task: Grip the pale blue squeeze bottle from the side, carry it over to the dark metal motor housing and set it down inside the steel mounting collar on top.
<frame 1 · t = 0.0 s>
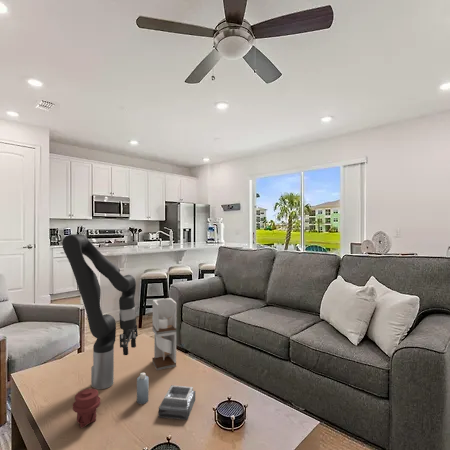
hand: (129, 351, 147), 17 cm above the table, tool pointing down, fingers open, 8 cm apart
mechanical component: (86, 422, 121), on the table
motor housing: (177, 408, 131), on the table
pale blue squeeze bottle: (142, 400, 136), on the table
display case: (164, 364, 171), on the table
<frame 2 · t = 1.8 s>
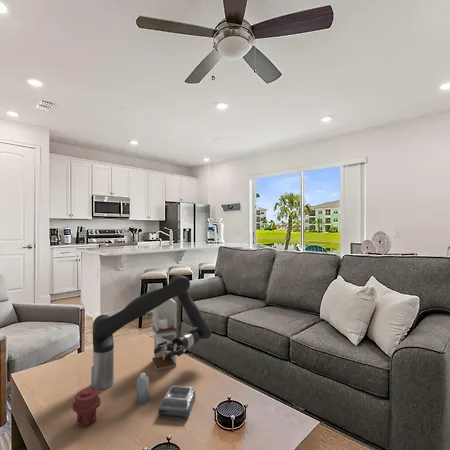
hand: (160, 353, 145), 17 cm above the table, tool horizontal, fingers open, 8 cm apart
nothing on the table moved.
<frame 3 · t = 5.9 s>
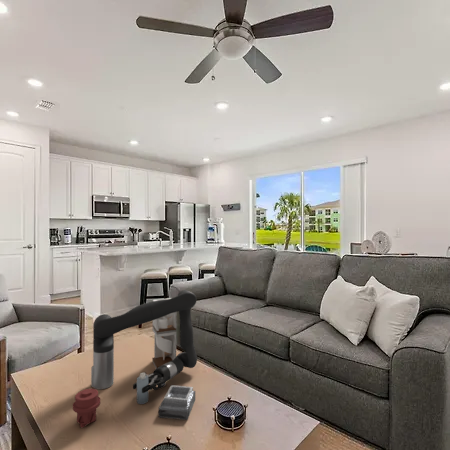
hand: (138, 388, 133), 7 cm above the table, tool horizontal, fingers closed on pale blue squeeze bottle, 5 cm apart
pale blue squeeze bottle: (142, 400, 136), on the table, touching gripper
everything else where it was.
when the fingers open (12 cm above the table, at t = 10.4 s): pale blue squeeze bottle drops 1 cm, resting on motor housing.
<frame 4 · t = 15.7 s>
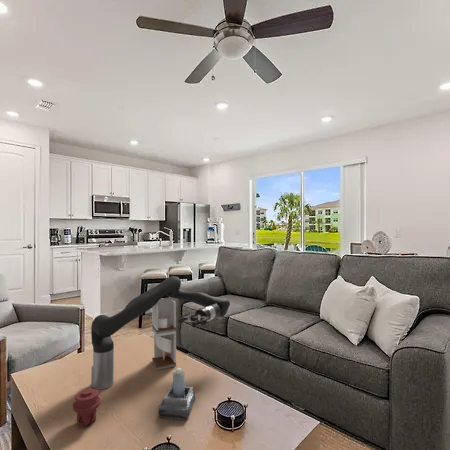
hand: (185, 323, 149), 30 cm above the table, tool horizontal, fingers open, 8 cm apart
pale blue squeeze bottle: (179, 396, 132), point 4 cm above the table, touching motor housing
display case: (164, 363, 171), on the table, touching arm
everything else where it was.
at the end: pale blue squeeze bottle 0.1 cm from the target spot on the motor housing, point 4.1 cm above the motor housing's base; pale blue squeeze bottle tilted 1°; the gripper is holding nothing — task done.
